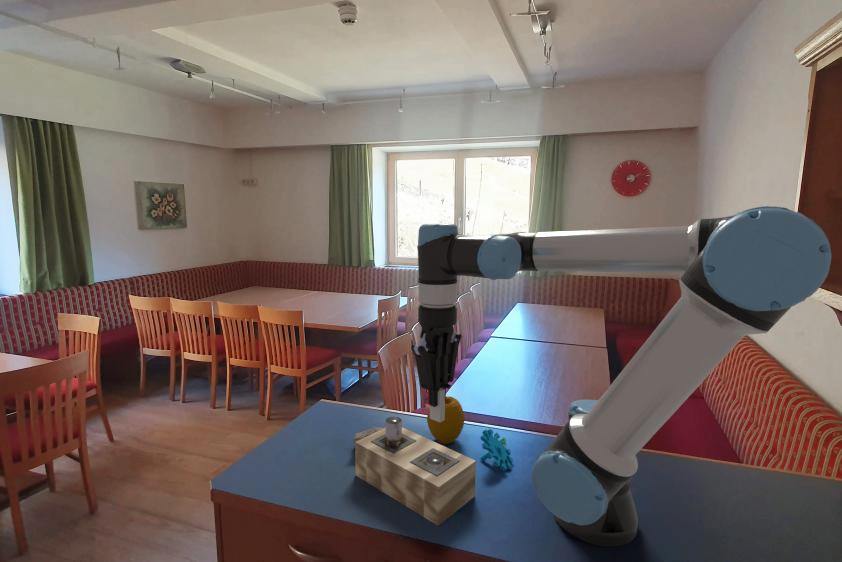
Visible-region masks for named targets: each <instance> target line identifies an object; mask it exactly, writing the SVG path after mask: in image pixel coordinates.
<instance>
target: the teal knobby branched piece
mask: <svg viewBox="0 0 842 562" xmlns="http://www.w3.org/2000/svg"><path fill="white" fill-rule="evenodd" d="M481 433H482V435H481V436H480V440H481V441H482V442H483V443H482V444H481V446H482V449H483V450H486V451H487V452H486V453H485V454H484V455H482V456H481V457H480V461H481V462H484V461H487V459H488V460H491V459H493V458H494V459H495V460H494V461H493V465H494V466H495V467H496V468H498V467H500V470H501V471H506V470H510V469H511V468H512V463H513V461H514V459H513V458H512V457H511V456H510V455H511V454H512V451H511V449H509V448H507V438H506V437H502V438H501V436H500V434H499V433H498V432H496V433H494V431H493V429H491V428H489V429H484V430H482V431H481ZM499 438H500V439H499Z"/></svg>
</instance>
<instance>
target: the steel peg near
mask: <svg viewBox="0 0 842 562" xmlns="http://www.w3.org/2000/svg"><path fill="white" fill-rule="evenodd" d="M426 466H428V467H430V468H432V469H434V470H438V469H440V468H441V467H443V466H444V459H443V458H442V457H441V456H438V455H431V456H429V457H427V458H426Z"/></svg>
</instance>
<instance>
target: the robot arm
mask: <svg viewBox="0 0 842 562" xmlns="http://www.w3.org/2000/svg"><path fill="white" fill-rule="evenodd" d="M417 237H418V239H417V247H416V249H417V264H418V265H417V267H418V277H417V278H418V281H417V282H418V284H417V285H418V300H417V301H418V302H419V304H418V307H417V309H418V310H417V317H418V318H417V321H418V324H419V325H420V327H421V331H420V334H419V338H420V339H419V341H418V342H417V343H412V344H411V346H410V349H411V351H412V352H413V355H414V360H415V363H416V369H417V374H418V381H419V384H420V388H421V389H424V390H426V391H428V406H429V408H430V419H432V420H435V421H437V422H442V421H444V420H445V401H446V397H447V389H448V390H449V389H451V387H452V386H451V384H449V383H453V381H454V378H455V370H456V365H457V364H456V363H457V358H458V351H459V347H460V346H459V345H460V343H461V340H462V337H463V336H462V334H461V333H457V332H455V328H454V326H455V325H457V322H458V307H457V305H456V303H457V302H458V277H459V276H460V277H461V276H464V277H470V278H471V277H472V278H473V277H474V278H481V279H482V278H483V279H490V280H492V281H495V280H511V279H513V278H515V276H516V274H517V273H518V272H542V271H543V272H544V271H545V272H586V273H587V272H592V273H598V272H600V273H643V274H644V273H645V274H646V273H651V274H652V273H654V274H682V275H681V277H680V279H678V283H679V287H680V291H681V294H680V295H681V296H680V298H679V299H678V300H677V302H676V303H675V304H674V305H673V307H672V308H671V309H670V310H669V311H668V313H666V315H665V317H664V318H663V319H662V320H661V321H660V323H659V324H658V325H657V326H656V328H655V329H654V330H653V332H652V333H651V334H650V335H649V337H647V339H646V341H645V342H644V343H643V344H642V345H641V347H639V349H638V351H637V352H636V353H635V354H634V355H633V357H632V358H631V359H630V360H629V362H628V363H627V364H626V365H625V366H624V367H623V369H622V370H621V372H620V373H618V375H617V376H616V378H615V379H614V380H613V382H612V383H611V384H610V385H609V387H608V388H606V390H605V392H604V393H603V394H602V396H600V398H599V399H597V400H596V399H577V400H575V401H572V402H571V403H570V404H569V410H568V411H567V414H568V421H567V422H566V424H565V425H564V426H563V427H562V429H561V430H560V432H559V433H558V434H557V435H556V437H555V438H554V439H553V440H552V442H551V443H550V444H549V445H548V447H547V448H545V450H544V451H543V452H542V453H539V455H538V456H537V458H536V460H535V463H534V464H533V467H532V471H531V481H532V484H533V486H534V491H535V493H536V495H537V497H538V499H539V500H540V501H541V503H542V505H543V506H545V508H546V509H547V510H548V511H549V512H550V513H551V514H553V516H554V518H555V520H556V522H557V523H558V525H559V526H560V527H561V528H562V529H563V530H564V531H565V532H567V533H568V534H570V535H571V536H573V537H574V538H576V539H578V540H580V541H582V542H585V543H588V544H590V545H594V546H599V547H609V548H610V547H612V548H613V547H622V546H624V545H627V544H630V543H631V542H632V541H633V540H634V539H635V538H636V536H637V533H638V525H639V524H638V523H639V519H638V514H637V510H636V506H635V503H634V502H635V501H634V499H633V495H632V492H631V485H632V484H631V481H632V477H634V475H635V474H636V473H637V471H638V468H639V462H638V457H637V454H638V453H639V452H640V451H641V450H642V449H643V447H644V446H646V444H647V443H648V442H649V441H650V440H651V439H652V438H653V436H655V434H657V432H658V431H659V430H660V429H661V428H662V427H663V426H664V424H665V423H666V422H668V420H669V419H671V417H672V416H673V415H674V414H675V413H676V411H678V410H679V408H681V406H682V405H683V404H684V403H685V402H686V401H687V400H688V398H690V396H691V395H692V394H693V393H694V392H695V391H696V390H697V388H698V387H699V386H701V384H702V383H703V382H704V381H705V380H706V379H707V378H708V377H709V376H710V374H711V373H712V372H713V371H714V370H715V369H716V368H717V367H718V366H719V365H720V363H721V362H722V361H723V360H724V359H725V358H726V357H727V356H728V355H729V353H731V351H732V350H734V348H735V347H736V346H737V345H738V344H739V343H740V342H741V341H742V339H743V338H744V337H746V336H749V335H759V334H760V335H761V334H767V333H768V332H769V331H770V330H771V329H772V328H773V327H774V326H775V325H776V323H778V322H779V321H780V320H781V319H782V318H783V317H784V316H785V314H787V312H788V311H789V310H790V309H791V308H792V307H794V306H796V305H799V304H800V303H802V302H804V301H806V299H808V298H810V297H811V296H814V294H815V293H816V292H817V291H818V290H819V289H820V287H821V286H822V285H823V284H824V282H825V281H826V278H827V277H828V274H829V272H830V268H831V267H830V266H831V265H832V249H831V244H830V241H829V239H828V237H827V235H826V233H825V232H824V230H823V228H822V227H821V226H819V224H817V223H816V222H815V221H814V220H813V219H811V218H810V217H807V216H805V215H804V214H803V213H802V212H798V211H794V210H791V209H789V208H787V207H784V206H783V207H781V206H768V205H767V206H757V207H752V208H748V209H745V210H742V211H739V212H737V213H735V214H733V215H729V216H724V217H713V218H712V217H711V218H699V219H698V220H696V221H695V222H693V224H691V225H685V226H684V225H682V226H680V225H679V226H678V225H677V226H657V227H652V226H651V227H633V228H632V227H631V228H630V227H629V228H628V227H627V228H611V229H610V228H607V229H604V228H603V229H589V230H588V229H585V230H579V229H578V230H562V231H561V230H559V231H539V232H537V231H536V232H526V231H519V232H518V231H517V232H512V233H501V234H500V233H499V234H498V233H497V234H488V235H487V234H481V235H480V234H477V235H476V234H475V235H474V234H473V235H470V234H469V235H468V234H467V235H465V234H459V228H458V225H456V224H454V223H424V224H422V225H420V226H419V229H418V236H417Z"/></svg>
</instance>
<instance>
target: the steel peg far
mask: <svg viewBox="0 0 842 562" xmlns="http://www.w3.org/2000/svg"><path fill="white" fill-rule="evenodd" d="M402 423H403V419H402V418H401V417H399V416H389V417H387V418H385V427H384V428H385V431H386V445H387V446H389V447H391V448H393V449H394V448H396V447H398V446H400V445H401V444H402V427H403V424H402Z"/></svg>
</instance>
